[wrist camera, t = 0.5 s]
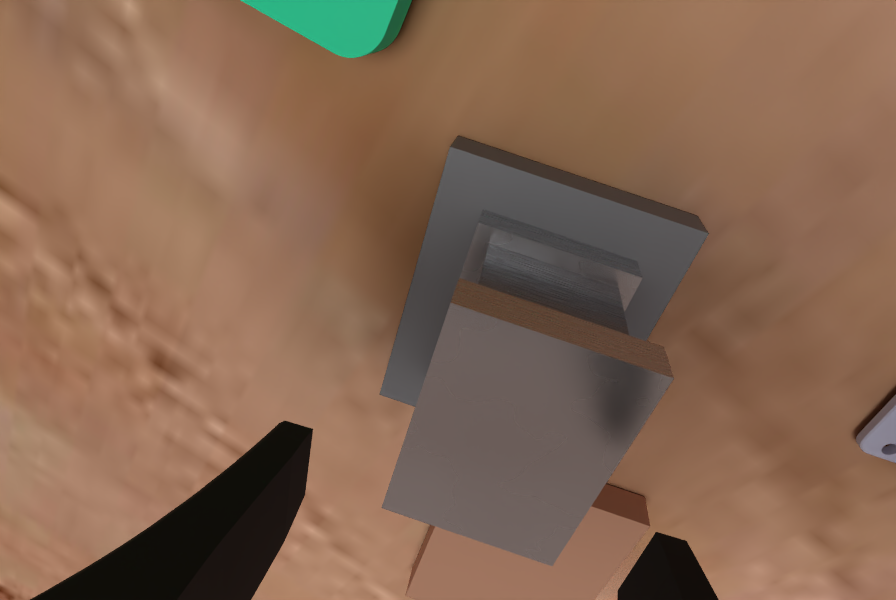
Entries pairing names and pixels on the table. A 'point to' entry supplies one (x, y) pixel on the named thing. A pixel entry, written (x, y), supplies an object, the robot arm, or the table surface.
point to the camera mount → (340, 22)
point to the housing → (527, 392)
